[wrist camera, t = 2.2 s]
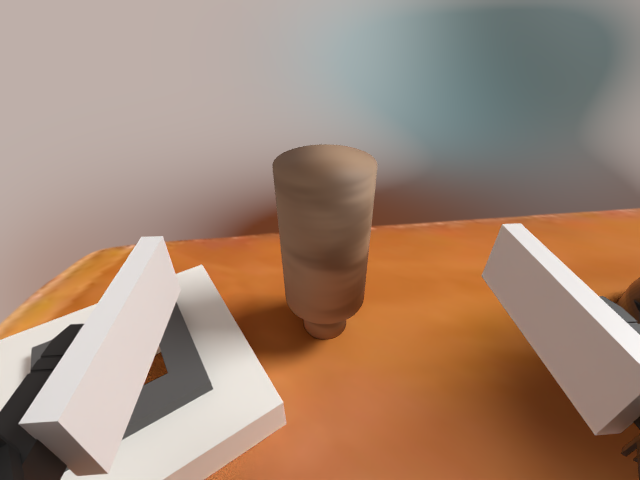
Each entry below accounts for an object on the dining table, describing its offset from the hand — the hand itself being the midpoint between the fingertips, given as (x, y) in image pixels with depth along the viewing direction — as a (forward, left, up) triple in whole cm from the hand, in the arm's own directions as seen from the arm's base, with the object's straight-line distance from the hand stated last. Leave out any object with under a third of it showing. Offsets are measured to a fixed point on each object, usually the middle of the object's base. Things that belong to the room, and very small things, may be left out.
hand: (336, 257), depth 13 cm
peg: (-5, -8, -16) cm, 19 cm away
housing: (+11, -11, -16) cm, 22 cm away
